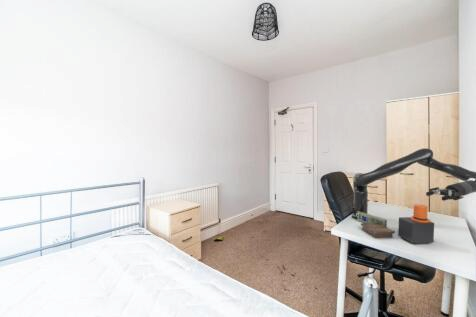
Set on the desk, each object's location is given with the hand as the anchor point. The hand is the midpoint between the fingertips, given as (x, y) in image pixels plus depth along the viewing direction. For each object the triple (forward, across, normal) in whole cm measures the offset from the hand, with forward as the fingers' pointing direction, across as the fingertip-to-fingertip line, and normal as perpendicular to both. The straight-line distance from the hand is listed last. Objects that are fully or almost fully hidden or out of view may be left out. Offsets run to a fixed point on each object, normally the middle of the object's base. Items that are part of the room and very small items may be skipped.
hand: (434, 196), depth 122 cm
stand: (+29, +12, -21) cm, 38 cm away
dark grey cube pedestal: (+15, -1, -23) cm, 27 cm away
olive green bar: (+23, +27, -23) cm, 43 cm away
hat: (+11, 0, -11) cm, 16 cm away
